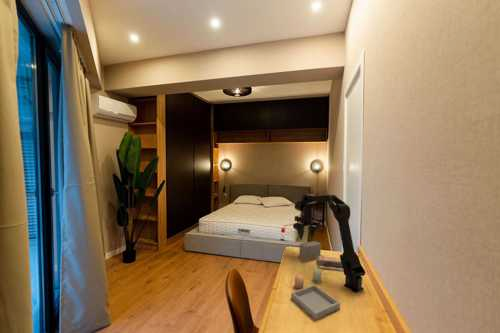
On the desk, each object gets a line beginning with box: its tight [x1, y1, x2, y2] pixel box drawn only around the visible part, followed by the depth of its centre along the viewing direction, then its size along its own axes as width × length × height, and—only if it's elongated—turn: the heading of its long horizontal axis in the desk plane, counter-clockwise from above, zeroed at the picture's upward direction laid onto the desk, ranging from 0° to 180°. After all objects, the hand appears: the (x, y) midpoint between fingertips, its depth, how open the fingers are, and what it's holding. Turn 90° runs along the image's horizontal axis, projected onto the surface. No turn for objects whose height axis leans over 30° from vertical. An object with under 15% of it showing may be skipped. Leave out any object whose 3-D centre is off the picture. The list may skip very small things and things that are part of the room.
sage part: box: [312, 268, 322, 284], centre depth 107 cm, size 4×4×5 cm
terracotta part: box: [294, 273, 305, 290], centre depth 101 cm, size 4×4×5 cm
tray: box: [290, 284, 341, 321], centre depth 89 cm, size 14×14×3 cm
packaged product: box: [316, 255, 344, 273], centre depth 122 cm, size 18×5×10 cm
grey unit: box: [296, 240, 323, 263], centre depth 131 cm, size 6×15×9 cm, turn 119°
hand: (306, 238), depth 134 cm, fingers open, 9 cm apart
